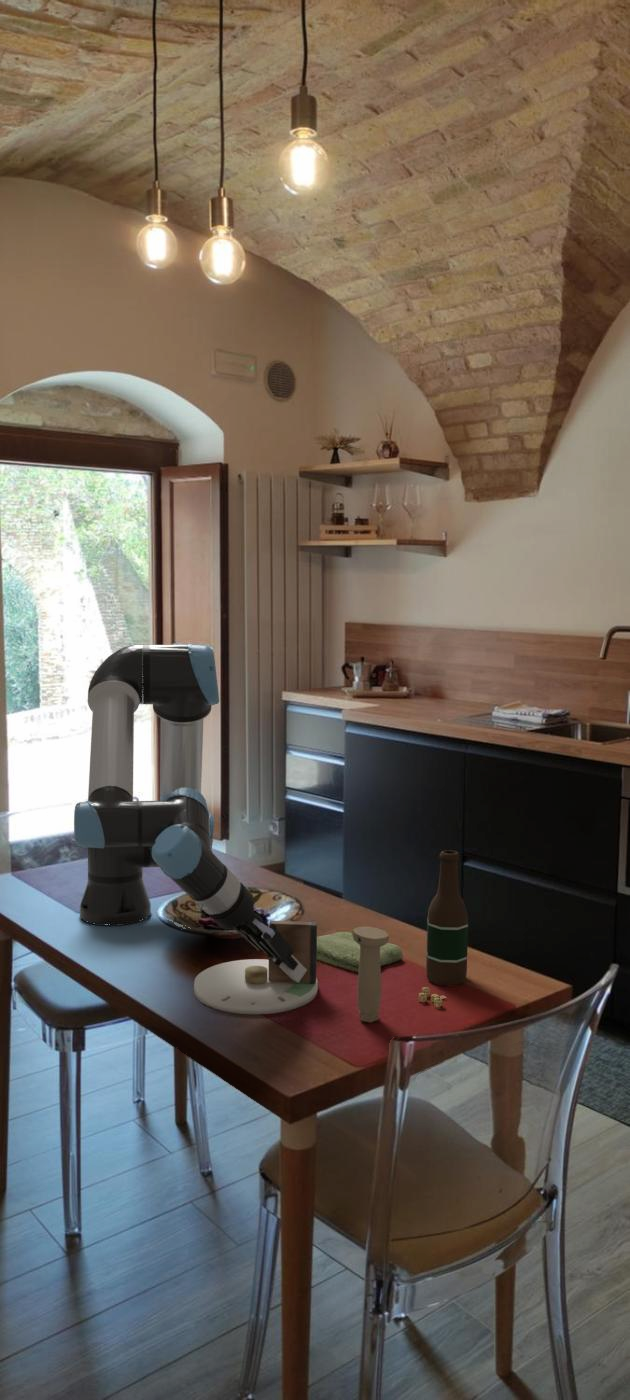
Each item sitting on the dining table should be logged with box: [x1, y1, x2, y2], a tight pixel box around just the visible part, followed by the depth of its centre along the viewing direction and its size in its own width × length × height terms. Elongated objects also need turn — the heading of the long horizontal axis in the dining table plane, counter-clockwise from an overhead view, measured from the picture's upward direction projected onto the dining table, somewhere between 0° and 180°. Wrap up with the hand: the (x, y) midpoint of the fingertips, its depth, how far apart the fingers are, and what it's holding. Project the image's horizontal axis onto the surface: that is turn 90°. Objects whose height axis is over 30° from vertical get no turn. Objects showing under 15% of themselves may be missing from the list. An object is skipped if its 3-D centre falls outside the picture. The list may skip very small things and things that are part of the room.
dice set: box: [418, 986, 447, 1007], centre depth 184 cm, size 5×5×2 cm
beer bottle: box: [425, 849, 469, 986], centre depth 193 cm, size 8×8×24 cm
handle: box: [352, 925, 390, 1024], centre depth 175 cm, size 5×6×15 cm
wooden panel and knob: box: [245, 920, 318, 984], centre depth 187 cm, size 13×4×11 cm, turn 86°
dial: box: [193, 958, 319, 1015], centre depth 188 cm, size 22×22×2 cm
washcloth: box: [317, 931, 404, 974], centre depth 206 cm, size 13×18×3 cm
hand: (299, 974), depth 185 cm, fingers closed
